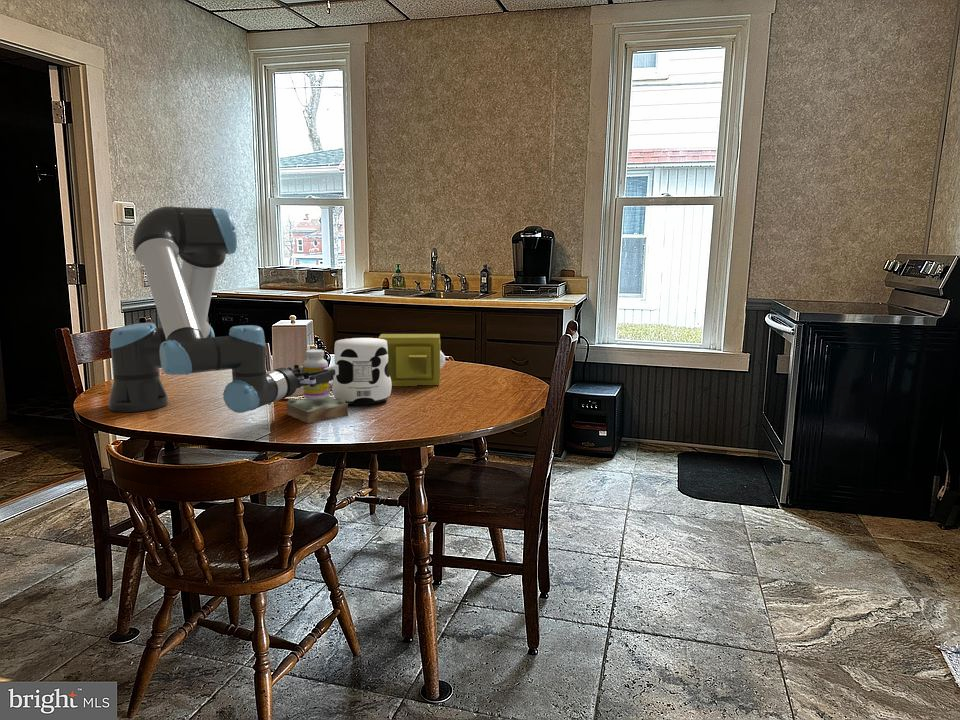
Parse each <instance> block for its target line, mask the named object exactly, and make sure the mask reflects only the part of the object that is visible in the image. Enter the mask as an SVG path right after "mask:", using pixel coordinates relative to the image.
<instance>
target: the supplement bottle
mask: <svg viewBox="0 0 960 720" xmlns="http://www.w3.org/2000/svg"><path fill="white" fill-rule="evenodd" d="M305 356H306V359H305V360H304V361H303V362H302V366H303V372H308V373H310V372H316V371H321V370H323V369H324V368H327V367H329V362H328V361H327V360H326V359H325V358H324V356H325V350H323V349H307V350H306V351H305ZM329 382H330V381H329ZM329 382H325V383H322V384H318V385H316V386H314V387H310V385H306V386H303V397H304V399H314V400H315V399H324V398H327V397H328V396H329V395H330V386H329V385H330V384H329ZM329 397H330V396H329Z"/></svg>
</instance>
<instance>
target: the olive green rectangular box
mask: <svg viewBox="0 0 960 720" xmlns="http://www.w3.org/2000/svg"><path fill="white" fill-rule="evenodd" d="M378 339H384V340H387V346H388V371H389V375H390V378H391V383H392V387H418V386H417V385H440V383H441V373H442V371H441V369H442V368H443V367H444V366H445V364H446V355H445V354H444V352H442V350H441V334H440V333H381V334H379V336H378Z"/></svg>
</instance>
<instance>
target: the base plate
mask: <svg viewBox="0 0 960 720" xmlns="http://www.w3.org/2000/svg"><path fill="white" fill-rule="evenodd" d="M348 406H349V404H348V403H346V402H345V400H337V399H335V397H331V396H328V397H327V398H324V399H315V400H314V399H307V398H304V399H303V398H302V399H295V398H290V399H288V401H286V415H288V416H290V417H292V418H295V419H296V420H299V421H301V422H304V423H306V424H312V423H315V422H316V423H317V422H323V421H327V420H332V419H337V418H343V417H348V416H349V407H348Z"/></svg>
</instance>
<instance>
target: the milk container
mask: <svg viewBox="0 0 960 720" xmlns="http://www.w3.org/2000/svg"><path fill="white" fill-rule="evenodd" d="M378 338H379V337H378ZM378 338H377V337H375V338H374V337H352V338H344V339H342V338H341V339H338V340H336V341H335V342H334V349H333V350H334V352H333V353H334V358H333V359H334V365H338V368H339V375H336V376H333V379H334V380H332V383H331V384H332V385H331V389H332V394H333V398H334V399H337V400H345V402H346V403H348V405H371V404H377V403H380V402H384V401H386V400H387V399H388V398H390V395H391V393H392V387H393V386H392V383H391V378H390V375H389V371H388V346H387V340H384V339H378Z"/></svg>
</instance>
